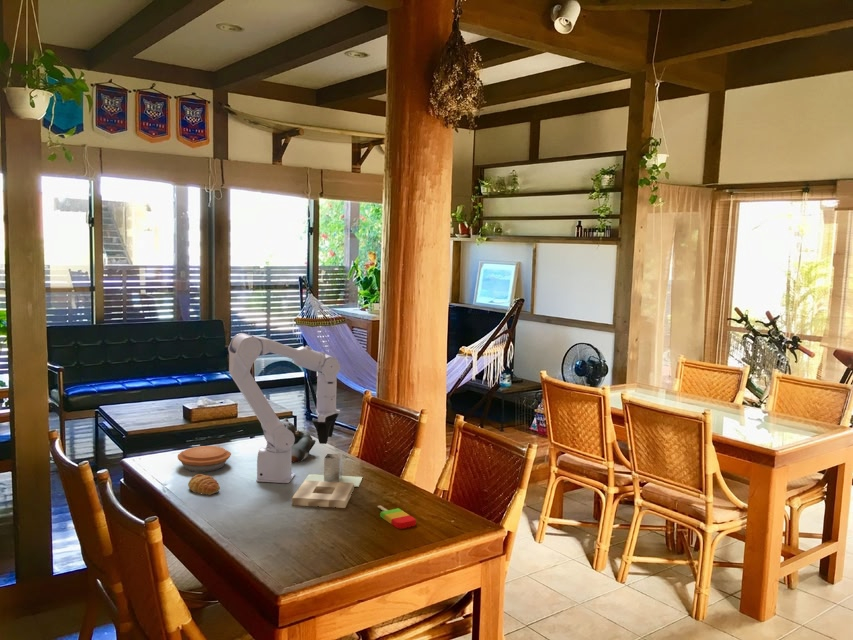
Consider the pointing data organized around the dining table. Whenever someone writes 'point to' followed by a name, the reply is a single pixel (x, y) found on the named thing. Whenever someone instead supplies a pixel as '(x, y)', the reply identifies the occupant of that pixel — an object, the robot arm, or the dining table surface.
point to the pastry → (203, 484)
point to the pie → (204, 458)
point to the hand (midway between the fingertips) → (325, 440)
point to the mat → (344, 479)
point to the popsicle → (397, 518)
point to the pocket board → (323, 494)
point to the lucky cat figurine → (299, 442)
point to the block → (333, 467)
